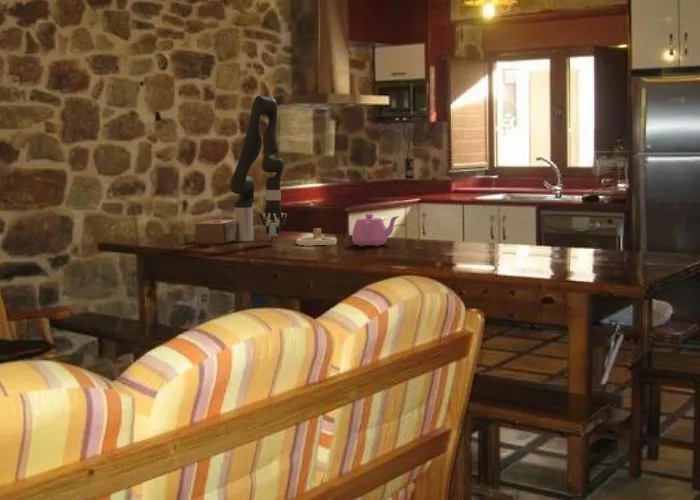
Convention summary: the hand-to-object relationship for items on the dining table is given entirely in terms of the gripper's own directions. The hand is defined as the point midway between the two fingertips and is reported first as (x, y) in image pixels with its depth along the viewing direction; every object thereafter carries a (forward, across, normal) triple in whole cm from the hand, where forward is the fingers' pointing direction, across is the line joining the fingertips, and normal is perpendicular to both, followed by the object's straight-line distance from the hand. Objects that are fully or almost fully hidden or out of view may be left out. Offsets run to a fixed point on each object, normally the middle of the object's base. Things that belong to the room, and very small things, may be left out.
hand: (273, 233), depth 460 cm
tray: (+5, -21, -3) cm, 22 cm away
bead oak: (+4, -20, -8) cm, 22 cm away
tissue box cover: (+7, +36, -17) cm, 40 cm away
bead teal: (+1, 0, 0) cm, 1 cm away
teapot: (+4, -49, +2) cm, 49 cm away
